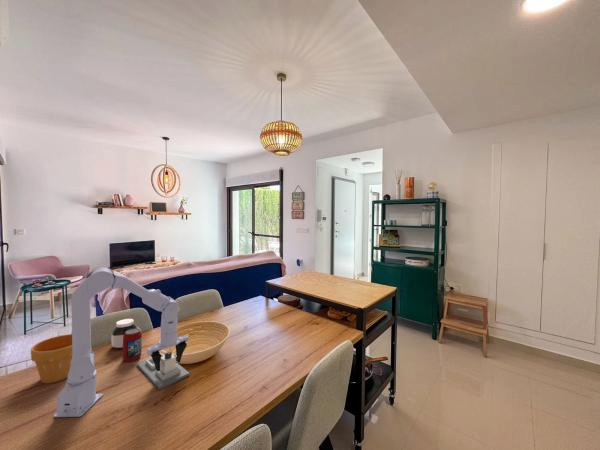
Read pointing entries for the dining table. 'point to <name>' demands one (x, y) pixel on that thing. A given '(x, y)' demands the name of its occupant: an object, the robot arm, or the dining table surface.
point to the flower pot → (53, 358)
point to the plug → (167, 363)
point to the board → (157, 376)
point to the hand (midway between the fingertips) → (168, 365)
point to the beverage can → (132, 344)
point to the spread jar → (121, 332)
